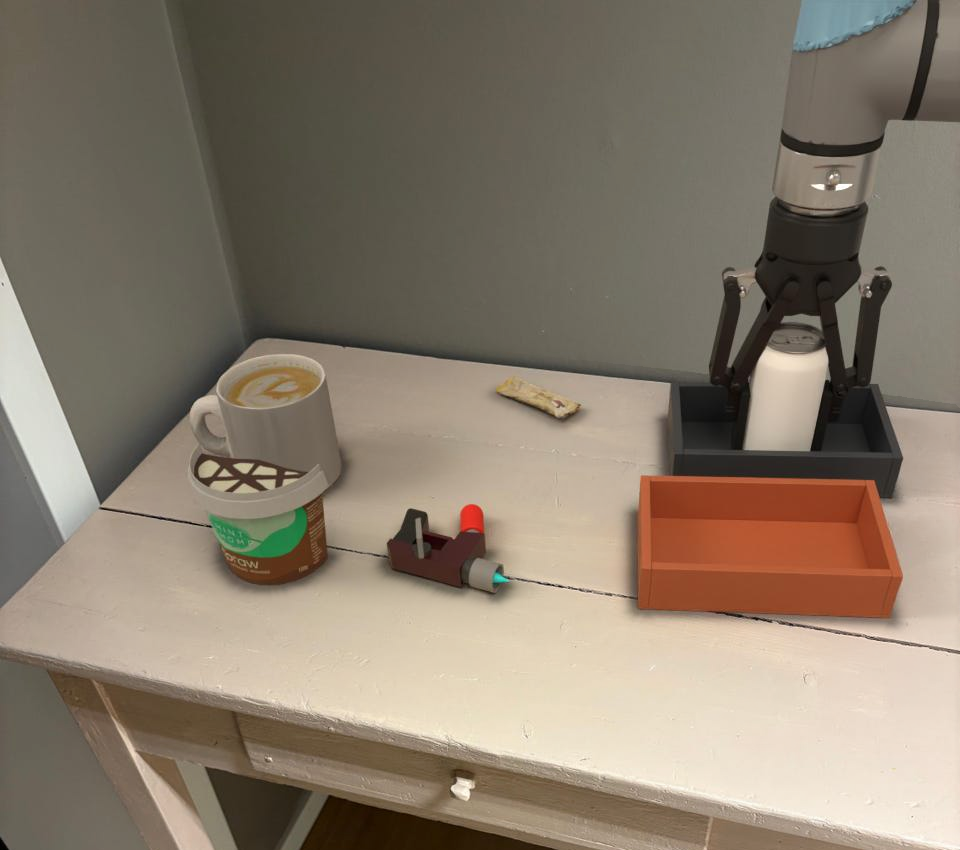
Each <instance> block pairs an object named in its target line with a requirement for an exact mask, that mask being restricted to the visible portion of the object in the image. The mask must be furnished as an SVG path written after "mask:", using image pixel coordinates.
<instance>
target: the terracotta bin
mask: <svg viewBox="0 0 960 850" xmlns="http://www.w3.org/2000/svg"><path fill="white" fill-rule="evenodd" d="M639 482H640V483H639V493H638V507H637V585H638V586H637V590H638V591H637V608H638V610H661V611H663V610H664V611H685V612H686V611H691V612H713V613H714V612H715V613H716V612H717V613H719V612H720V613H743V614H745V613H746V614H768V615H769V614H771V615H772V614H773V615H798V616H802V615H803V616H826V617H851V618H853V617H855V618H857V617H859V618H880V619H881V618H882V619H885V618H886V619H890V618H891V615H892V612H893V609H894V605H895V603H896V599H897V596H898V593H899V590H900V587H901V584H902V580H903V578H904V575H903V572H902V568H901V565H900V561H899V558H898V555H897V552H896V548H895V545H894V541H893V538H892V535H891V532H890V528H889V525H888V522H887V518H886V514H885V511H884V508H883V504H882V501H881V498H879V494H878V491H877V488H876V484H875V481H874V480H842V479H794V478H746V477H698V476H670V475H647V474H645V475H643V474H641V475H640V480H639Z"/></svg>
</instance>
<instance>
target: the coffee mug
mask: <svg viewBox="0 0 960 850" xmlns="http://www.w3.org/2000/svg"><path fill="white" fill-rule="evenodd" d="M326 375H327V374H326V371H325V369H324V367H323V366H322V364H320V363H319V362H318V361H316V360H314V359H313V358H310V357H308V356H305V355H301V354H296V353H295V354H294V353H274V354H265V355H261V356H256V357H253V358H249V359H246V360H244V361H242V362H239V363H237V364H235V365H233V366H232V367H230V368H229V369H227V370H226V371H225V372H224V373H223V374H222V375H221V376H220V377H219V379H218V380H217V382H216V384H215V387H216V388H215V392H216V394H212V395H211V394H209V395H205V396H202V397H200V398H197V400H196V401H194V403H193V405H192V406H191V408H190V411H189V424H190V427H191V431H192V433H193V436H194V438H195V439H196V441H197V443H198V444H199V443H200V446H201V448H203V449H204V450H206V451H208V452H210V453H212V454H215V455H217V456H218V455H219V456H221V457H224V458H233V459H255V460H261V461H265V462H268V463H272V464H275V465H278V466H281V467H284V468H288V469H293V470H298V471H305V472H310V471H311V470H312V469H313V468H314V467H315V466H316V465H317V464H319V467H320V471H323V472H324V475H325V478H326V480H327V483H328V485H329V486H328V487H327V488H326V489H325V490H324V491H326V490H327V489H329V488H330V487H332V486H333V485H334V484H335V483H336V481H338V479H339V477H340V475H341V473H342V469H343V465H342V458H341V454H340V453H341V452H340V448H339V441H338V436H337V430H336V425H335V420H334V419H335V418H334V415H333V407H332V402H331V398H330V391H329V385H328V380H327V376H326ZM207 415H215V416H216V417H217V418H218V419H219V420H220V422H221V424H222V426H223V429H224V431H225V437H220V436H216V435H215V434H214V433H212V432H211V430H210V429H209V427H208V426H207V422H206V416H207Z"/></svg>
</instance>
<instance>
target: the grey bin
mask: <svg viewBox="0 0 960 850" xmlns="http://www.w3.org/2000/svg"><path fill="white" fill-rule="evenodd" d="M669 384H670V385H669V397H668V407H667V419H666V423H667V444H668V446H667V447H668V466H669V476H698V477H746V478H794V479H842V480H874V481H875V484H876V488H877V491H878V494H879V498H880V499H892V498H893V495H894V492H895V488H896V485H897V482H898V479H899V475H900V471H901V468H902V466H903V465H902V464H903V461H904V455H903V453H902V450H901V447H900V443H899V441H898V438H897V435H896V432H895V429H894V427H893V424H892V421H891V418H890V415H889V411H888V409H887V406H886V403H885V399H884V397H883V394H882V391H881V389H880V386H879V383H870V384H869V385H868V386H866V387H859V386H855V387H852V388H850V389H849V394H848V395H847V396H846V397H844V401H843V405H842V409H841V414H840V418H839V419H838V420H837V422H827V426H826V431H825V435H824V440H823V444H822V449H821V451H765V450H732V445H731V435H732V429H733V422H734V421H726V418H725V413H724V403H725V396H726V388H725V387H724V386H721V385H719V386H714V385H712V384H711V382H710V381H670V383H669Z"/></svg>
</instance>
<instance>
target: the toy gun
mask: <svg viewBox="0 0 960 850" xmlns="http://www.w3.org/2000/svg"><path fill="white" fill-rule="evenodd" d="M484 519H485V517H484V512H483V509H482V508H481V506H479V505H477V504H475V503H468V504H466V505H464V506H463V507H462V508H461V510H460V512H459V528H460V529H459V532H458V533H457V535H456V537H454V538H453V537H452V536H449V535H444V534H441V533H436V532H433V531H429V530H430V523H429V515H428V513H427V512H426V511H424V510H420V509H417V508H411V507H410V508H407V510H406V512H405V515H404V518H403V520H402V523H401V526H400V529H399V530H398V532H397V533H396V534H395V535H394V537H393V538H389V540H387V542H386V549H387V556H388V562H389V564H390V566H391V568H392V569H393V570H395V571H396V570H397V571H400V572H405V573H408V574H412V575H415V576H419V577H422V578H427V579H430V580H435V581H437V582H439V583H444V584H446V585H447V584H448V585H451V586H455V587H459V588H462V587H463V586H464V585H465V583H466V584H469V586H470V587H472V588H475V589H479V590H483V591H486V592H490V593H497V592H498V591H499V589H500V587H501V585H502V583H508V582H511V581H510V580H509V579H507V578H506V577H504V573H505V568H504V564H502V563H500V562H496V561H493V560H488V559H484V558H483V557H484V556H485V554H486V551H487V549H486V533H485V521H484Z"/></svg>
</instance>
